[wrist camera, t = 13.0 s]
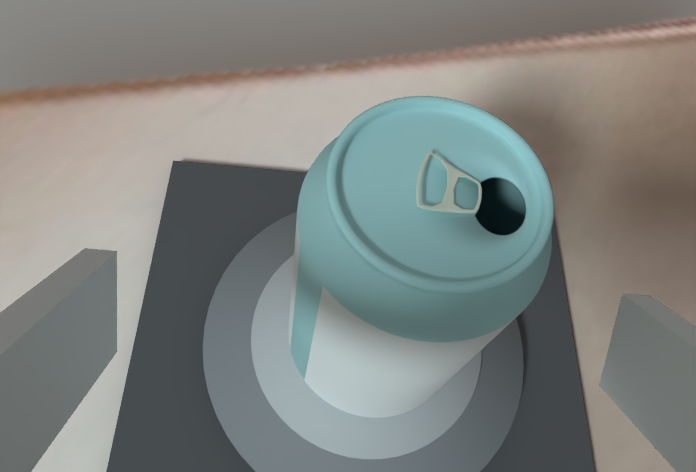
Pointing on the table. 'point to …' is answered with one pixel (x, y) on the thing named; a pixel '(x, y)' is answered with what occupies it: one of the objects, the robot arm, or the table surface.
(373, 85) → the table surface
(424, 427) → the flange station
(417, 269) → the can
